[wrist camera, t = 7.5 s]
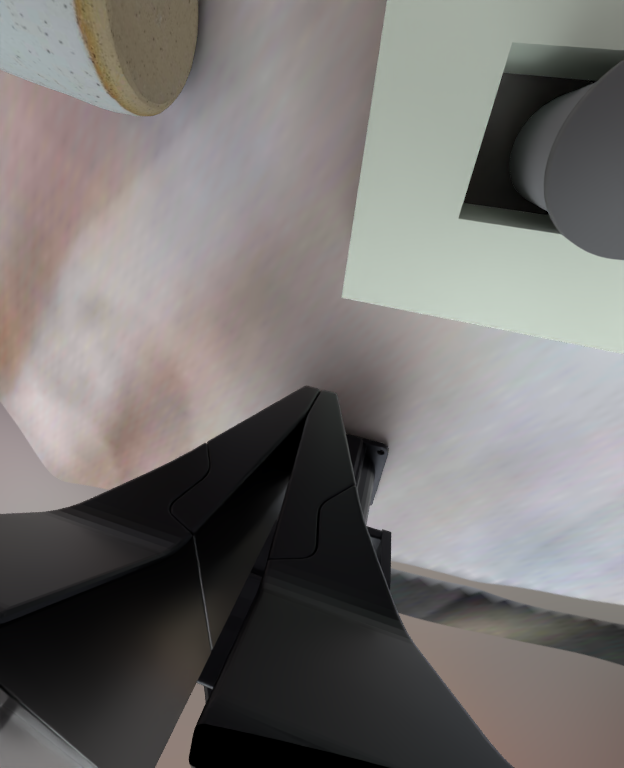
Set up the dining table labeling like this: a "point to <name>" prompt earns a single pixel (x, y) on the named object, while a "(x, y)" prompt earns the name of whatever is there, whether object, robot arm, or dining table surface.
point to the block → (455, 166)
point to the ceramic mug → (102, 49)
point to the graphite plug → (578, 164)
